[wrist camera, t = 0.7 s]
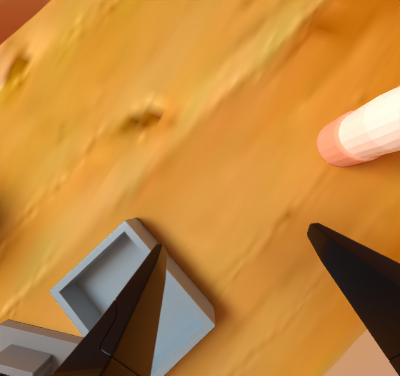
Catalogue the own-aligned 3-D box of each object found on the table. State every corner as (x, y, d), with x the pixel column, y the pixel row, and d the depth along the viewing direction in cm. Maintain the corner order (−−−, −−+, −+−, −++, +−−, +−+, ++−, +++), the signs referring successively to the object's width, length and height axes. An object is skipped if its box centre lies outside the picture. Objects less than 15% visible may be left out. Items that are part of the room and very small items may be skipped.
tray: (214, 306, 23) (215, 325, 20) (145, 372, 23) (134, 403, 19) (136, 217, 25) (124, 220, 21) (71, 278, 24) (49, 291, 21)
